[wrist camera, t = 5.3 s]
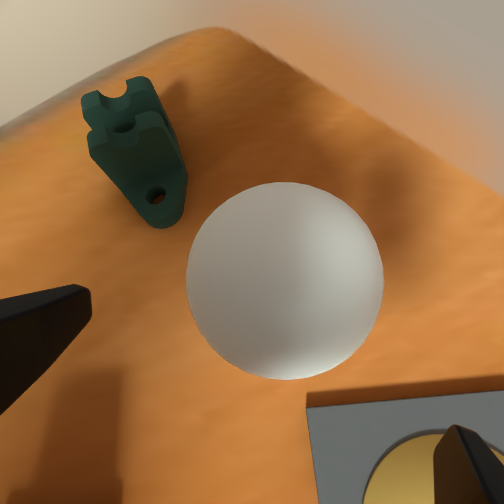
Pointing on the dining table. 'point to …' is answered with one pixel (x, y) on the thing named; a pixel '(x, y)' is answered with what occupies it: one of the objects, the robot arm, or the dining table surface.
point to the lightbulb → (284, 280)
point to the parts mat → (394, 444)
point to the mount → (138, 150)
